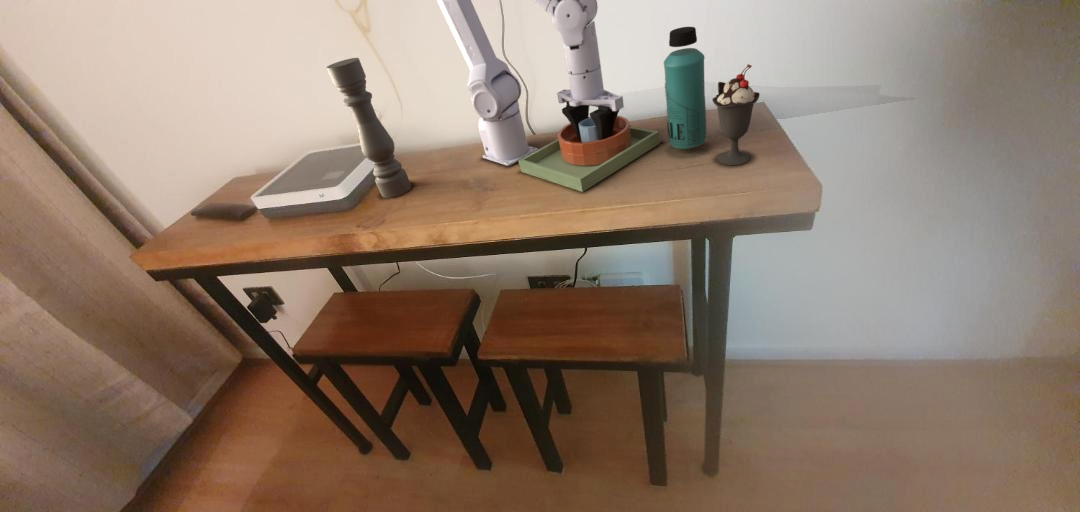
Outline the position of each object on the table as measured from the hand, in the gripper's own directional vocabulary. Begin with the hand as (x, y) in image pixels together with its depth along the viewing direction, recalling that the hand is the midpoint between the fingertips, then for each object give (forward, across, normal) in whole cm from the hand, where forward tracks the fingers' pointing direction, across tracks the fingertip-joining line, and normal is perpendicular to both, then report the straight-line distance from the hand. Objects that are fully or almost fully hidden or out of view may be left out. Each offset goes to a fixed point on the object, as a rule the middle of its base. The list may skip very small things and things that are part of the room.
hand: (595, 143), depth 90 cm
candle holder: (+2, -28, -30) cm, 41 cm away
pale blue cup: (+1, 0, 0) cm, 1 cm away
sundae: (+2, +24, +8) cm, 25 cm away
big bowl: (+2, 0, 0) cm, 2 cm away
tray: (+2, 0, -2) cm, 3 cm away
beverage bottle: (+2, +14, +8) cm, 17 cm away
